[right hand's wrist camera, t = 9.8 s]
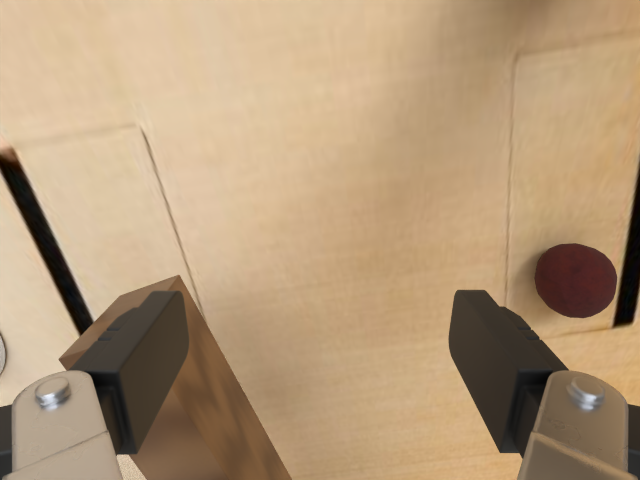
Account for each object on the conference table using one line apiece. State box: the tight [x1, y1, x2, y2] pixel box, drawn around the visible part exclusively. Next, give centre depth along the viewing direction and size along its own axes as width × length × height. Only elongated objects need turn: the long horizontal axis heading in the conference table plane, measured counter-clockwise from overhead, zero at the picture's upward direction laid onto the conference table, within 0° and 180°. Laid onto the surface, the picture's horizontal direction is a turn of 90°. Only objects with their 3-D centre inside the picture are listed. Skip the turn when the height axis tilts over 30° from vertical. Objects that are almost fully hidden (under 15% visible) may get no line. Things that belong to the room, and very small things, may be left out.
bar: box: [59, 275, 292, 480], centre depth 33 cm, size 28×6×8 cm, turn 20°
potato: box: [535, 243, 617, 318], centre depth 40 cm, size 7×8×7 cm
